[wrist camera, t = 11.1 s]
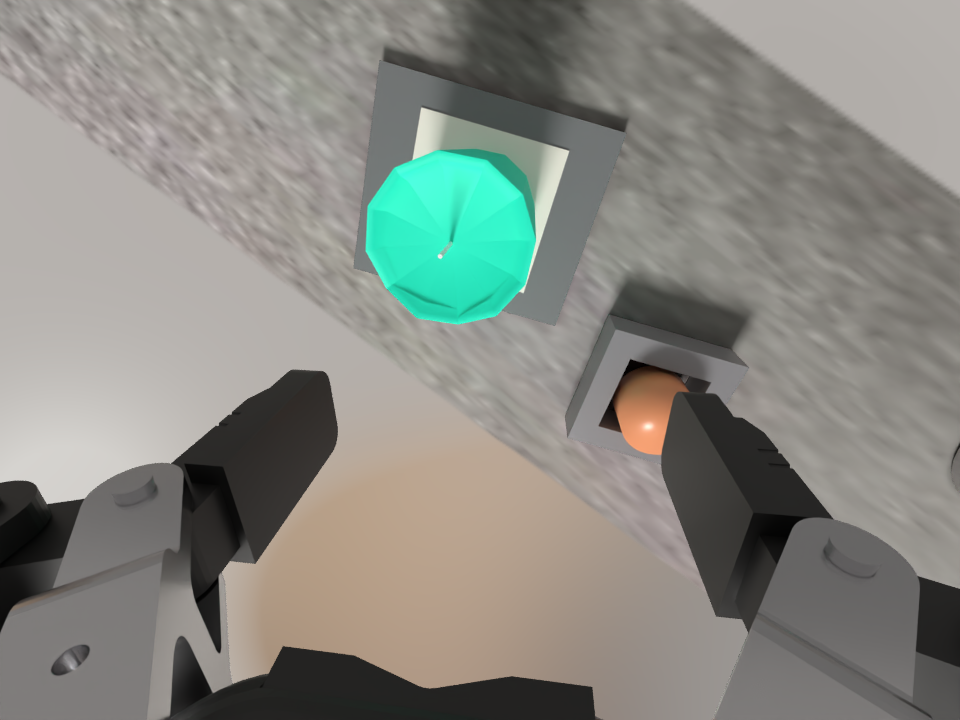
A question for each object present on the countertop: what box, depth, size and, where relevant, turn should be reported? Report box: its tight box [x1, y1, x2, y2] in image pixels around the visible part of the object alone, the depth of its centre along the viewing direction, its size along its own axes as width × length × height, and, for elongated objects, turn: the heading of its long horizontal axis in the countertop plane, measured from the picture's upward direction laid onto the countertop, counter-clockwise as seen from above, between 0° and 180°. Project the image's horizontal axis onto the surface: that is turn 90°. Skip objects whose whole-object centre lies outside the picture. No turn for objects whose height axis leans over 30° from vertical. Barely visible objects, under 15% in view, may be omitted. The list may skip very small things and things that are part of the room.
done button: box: [613, 366, 689, 455], centre depth 26 cm, size 4×4×3 cm
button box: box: [565, 314, 749, 464], centre depth 28 cm, size 8×8×2 cm
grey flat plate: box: [354, 60, 626, 326], centre depth 25 cm, size 13×11×1 cm
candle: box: [366, 149, 536, 324], centre depth 19 cm, size 6×6×12 cm
